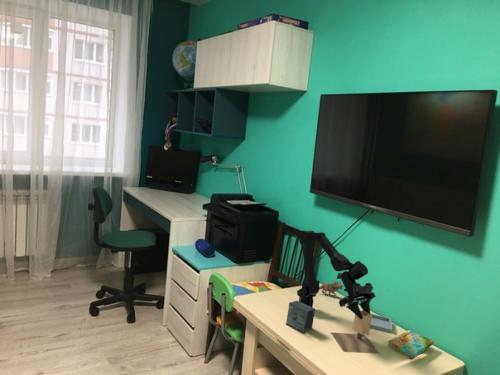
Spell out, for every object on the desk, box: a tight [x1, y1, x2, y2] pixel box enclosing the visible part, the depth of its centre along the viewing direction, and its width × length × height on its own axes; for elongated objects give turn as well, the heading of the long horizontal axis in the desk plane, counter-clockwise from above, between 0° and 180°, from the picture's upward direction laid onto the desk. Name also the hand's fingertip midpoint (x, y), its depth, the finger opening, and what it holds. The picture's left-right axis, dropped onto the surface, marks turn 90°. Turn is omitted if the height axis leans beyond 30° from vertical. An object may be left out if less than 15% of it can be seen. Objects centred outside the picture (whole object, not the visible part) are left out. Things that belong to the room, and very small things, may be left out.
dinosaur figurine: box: [319, 280, 344, 298], centre depth 230 cm, size 14×6×9 cm, turn 75°
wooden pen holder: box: [352, 309, 372, 336], centre depth 178 cm, size 7×5×8 cm
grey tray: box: [370, 312, 393, 334], centre depth 198 cm, size 14×14×2 cm
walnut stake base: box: [330, 332, 381, 355], centre depth 175 cm, size 16×16×5 cm
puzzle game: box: [387, 329, 435, 360], centre depth 179 cm, size 12×5×20 cm
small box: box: [285, 300, 316, 335], centre depth 184 cm, size 11×6×10 cm, turn 47°
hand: (365, 317), depth 177 cm, fingers closed on wooden pen holder, 5 cm apart
